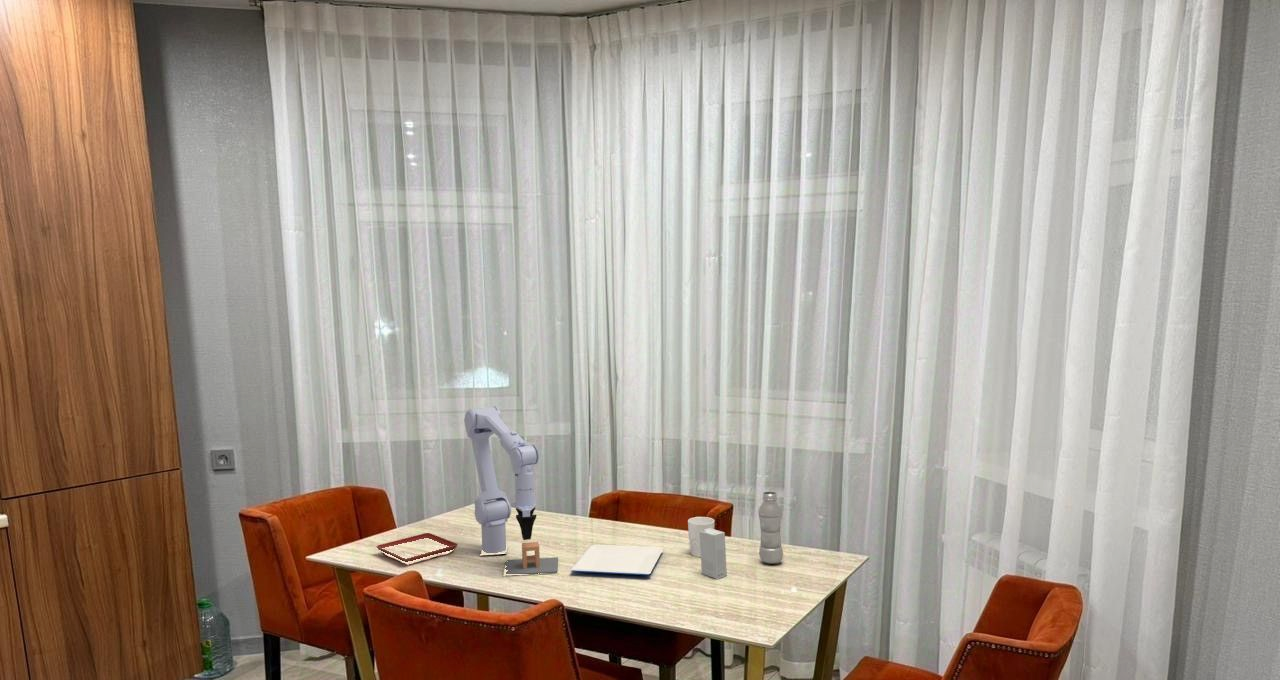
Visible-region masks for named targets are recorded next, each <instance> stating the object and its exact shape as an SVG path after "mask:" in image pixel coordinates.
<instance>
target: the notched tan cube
mask: <svg viewBox="0 0 1280 680" xmlns="http://www.w3.org/2000/svg"><path fill="white" fill-rule="evenodd" d="M533 551H534V554H532V555H528V554H527V552H533ZM521 555H522V556H521V559H522V564H523V569H527V562H535V564H536V568H540V544H539V542H538V541H531V542H530V541H529V542H522V543H521Z"/></svg>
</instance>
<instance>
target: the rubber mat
mask: <svg viewBox="0 0 1280 680" xmlns="http://www.w3.org/2000/svg"><path fill="white" fill-rule="evenodd" d="M506 560H507V561H508V562H507V561H505V564H504V566H505V565H506V566H507V567H506V568H505V567H504V568H505V569H506V570H508V571H507V572H506V574H538V573H539V574H540V573H557V572H558V568H559V557H558V556H557V557H555V556H553V557H541V558H540V568H536V564H535V562H527V569H523V564H522V558H521V559H517V558H516V559H506ZM540 575H541V574H540Z"/></svg>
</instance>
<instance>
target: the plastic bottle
mask: <svg viewBox="0 0 1280 680" xmlns="http://www.w3.org/2000/svg"><path fill="white" fill-rule="evenodd" d="M777 495H778V494H777V492H775V491H765V492H763V493H762V496H763V497H762V500H763V502H762V503H761V505H760V506H759V508H758V511H757V512H758V519H759V524H760V525H759V527H760V546H759V552H758V554H759V555H758V556H759V559H760V560H761V562H762V563H765V564H769V565H770V564H771V565H775V564H780V563H782V562H781V561H782V560H783V559H784V558H783V556H784V552H783V550H784V549H783V548H782V547H783V546H782V539H781V523H782V515H783V514H782V513H783V512H782V509H781V506H780V505H779V504H778V502H777V500H778V497H777Z"/></svg>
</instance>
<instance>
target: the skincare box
mask: <svg viewBox="0 0 1280 680" xmlns="http://www.w3.org/2000/svg"><path fill="white" fill-rule="evenodd" d="M700 550H701V557H700V564H701V565H700V566H701V567H700V568H701V574H702V575H704V576H707V577H710V578H713V579H716V580H718V579H723V578H724V577H727V574H728V571H727V554H726V553H727V552H726V551H727V549H726V533H725V532H724V531H721V530H717V529H715V528H714V529H711V528H708V529H705V530H702V531H700Z"/></svg>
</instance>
